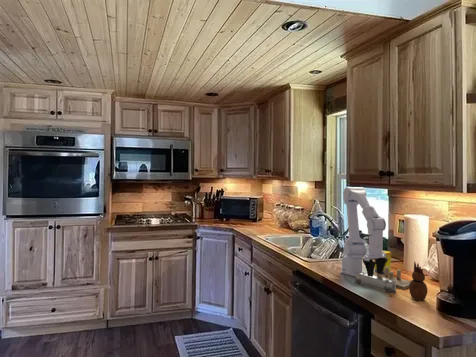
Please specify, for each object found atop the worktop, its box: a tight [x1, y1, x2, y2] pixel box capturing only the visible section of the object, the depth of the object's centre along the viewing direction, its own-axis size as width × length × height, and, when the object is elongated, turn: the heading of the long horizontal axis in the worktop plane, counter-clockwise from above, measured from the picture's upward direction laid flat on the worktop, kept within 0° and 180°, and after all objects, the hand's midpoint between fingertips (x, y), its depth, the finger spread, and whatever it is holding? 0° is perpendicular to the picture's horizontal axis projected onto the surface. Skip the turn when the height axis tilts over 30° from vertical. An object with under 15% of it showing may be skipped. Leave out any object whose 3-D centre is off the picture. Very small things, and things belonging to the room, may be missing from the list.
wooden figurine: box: [408, 261, 428, 302], centre depth 142 cm, size 7×6×15 cm
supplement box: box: [374, 250, 392, 275], centre depth 182 cm, size 6×6×11 cm
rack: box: [373, 267, 412, 290], centre depth 165 cm, size 20×11×6 cm, turn 38°
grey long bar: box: [354, 271, 397, 294], centre depth 157 cm, size 19×5×4 cm, turn 38°
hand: (375, 274), depth 157 cm, fingers open, 7 cm apart
